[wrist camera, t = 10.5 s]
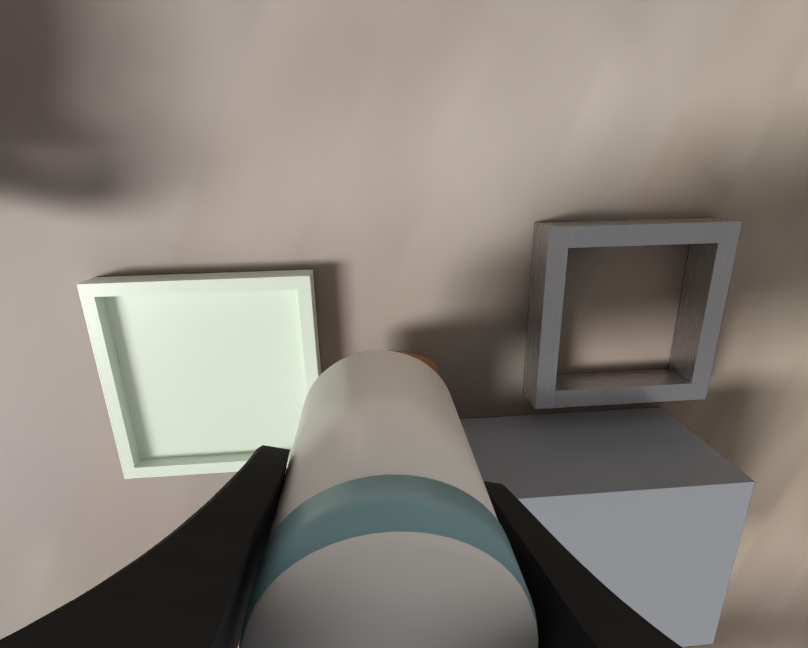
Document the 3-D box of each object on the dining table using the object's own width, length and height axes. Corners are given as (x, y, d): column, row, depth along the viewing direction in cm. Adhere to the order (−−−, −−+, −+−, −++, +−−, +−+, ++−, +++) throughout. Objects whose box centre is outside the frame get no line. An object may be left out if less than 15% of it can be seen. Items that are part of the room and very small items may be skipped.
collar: (681, 383, 22) (705, 399, 20) (522, 391, 21) (535, 409, 20) (713, 217, 20) (742, 221, 18) (534, 222, 19) (549, 227, 17)
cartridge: (418, 503, 15) (463, 783, 8) (278, 461, 14) (197, 734, 7) (482, 380, 13) (596, 586, 7) (332, 325, 13) (296, 500, 6)
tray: (327, 450, 21) (325, 465, 20) (137, 461, 21) (124, 478, 20) (312, 269, 19) (309, 276, 18) (94, 277, 18) (76, 284, 17)
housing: (638, 542, 25) (713, 643, 19) (333, 566, 24) (324, 681, 18) (661, 407, 22) (754, 481, 17) (321, 427, 21) (307, 514, 16)
